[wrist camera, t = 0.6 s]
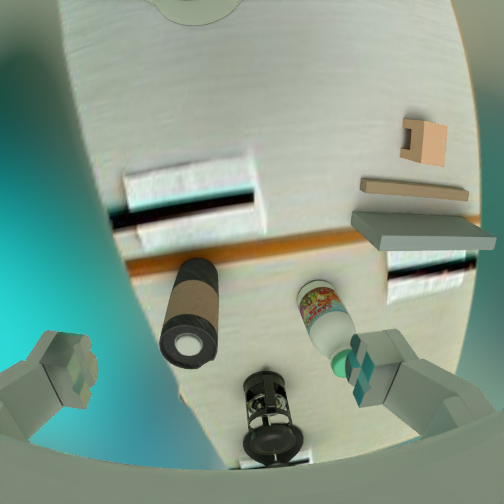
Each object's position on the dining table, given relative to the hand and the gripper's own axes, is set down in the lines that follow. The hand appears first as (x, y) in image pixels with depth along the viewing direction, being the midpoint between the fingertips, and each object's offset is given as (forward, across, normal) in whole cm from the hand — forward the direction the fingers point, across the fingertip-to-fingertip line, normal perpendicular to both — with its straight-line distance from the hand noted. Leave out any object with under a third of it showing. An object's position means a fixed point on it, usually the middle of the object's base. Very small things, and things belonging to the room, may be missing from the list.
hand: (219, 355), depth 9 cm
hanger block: (+44, -33, -6) cm, 56 cm away
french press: (+44, -9, +48) cm, 66 cm away
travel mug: (+44, +4, +20) cm, 49 cm away
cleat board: (+44, -35, +6) cm, 57 cm away
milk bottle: (+44, -18, +25) cm, 54 cm away
